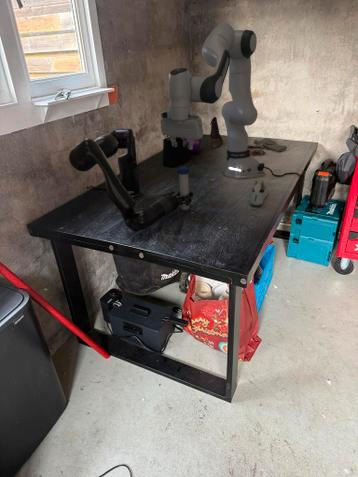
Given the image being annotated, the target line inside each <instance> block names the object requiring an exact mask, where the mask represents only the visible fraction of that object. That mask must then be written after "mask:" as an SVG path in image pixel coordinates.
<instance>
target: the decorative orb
mask: <svg viewBox="0 0 358 477" xmlns="http://www.w3.org/2000/svg"><path fill="white" fill-rule="evenodd" d="M186 141H187V145H189V144H190V142H189V139H186ZM201 145H202V138H201V139H199V140H195V142H194V144H193V149H191V150H189V149H188V154H194V153H196V152H197V151H198V150H199V149H200V147H201ZM187 148H188V147H187Z"/></svg>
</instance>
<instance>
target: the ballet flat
mask: <svg viewBox="0 0 358 477" xmlns="http://www.w3.org/2000/svg"><path fill="white" fill-rule="evenodd" d="M268 194H269V189H268V186H267V183H266V182H265V181H264V180H262V179H257V180H255V181H254V182H253V184H252V187H251V190H250V196H249V204H250V205H251V206H252V207H260V206H261V205H263V203H264V201H265V198H266V196H267V195H268Z"/></svg>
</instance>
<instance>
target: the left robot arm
mask: <svg viewBox="0 0 358 477" xmlns="http://www.w3.org/2000/svg"><path fill="white" fill-rule="evenodd" d="M119 150H127V152H125V153H123V154H121V155H118V157H117V164H118V171H119V177H118V175H117V174H116V172H115V170H114V168H113V166H112V165H111V163H110V161H109V160H108V159H110V158H111V157H113V156H115V155H116V154H117V153H118V151H119ZM68 161H69V163H70V165H71V166H72V168H74V169H75V170H76V171H79V172H83V173H85V172H88V171H90V170H91V169H93V168H94V167H95V166H96V165H98V166H99V168H100V170H101V172H102V174H103V177H104V182H105V187H96V186H93V185H89V186H90V187H88V186H86V189H89V188H92V189H95V190H105V191H106V192H107V195H108V197H109V199H110V201H111V202H112V203H113V205H114V206H115V207H116V208H117V209H118V211H119V212H120V214H121V217H122V219H123V221H124V223H125V225H126V227H127V228H128V229H129V230H130V231H132V232H135V233H138V232H141V231H143V230H146V229H148V228H150V227H151V226H152V225H154V224H155V223H156V222H158V221H160V220H161V219H163V218H165V217H167V216H168V215H170V214H172V213H173V212H175V211H177V209H178V208H179V207H180V206H181V205H182V204H186V206H188V205H189V206H190V204H191V202H192V198H193V197H194V192H193V191H189V193H188V194H186V195H181V196H180V191H176V192H175V191H171V192H167V193H164V194H163V196H162V197H161V198H159V199H157V200H156V201H155V202H154V203H152V204H150V205H148V206H147V207H146V208H144V209H142V210H140V211H138V212H136V211H135V209H134V208H135V206H136V200H135V199H134V198H136V197H138V196H141V193H142V192H141V188H140V187H141V186H140V177H139V169H138V160H137V149H136V135H135V132H134V130H133V129H132V128H115V129H113V130H111V131H110V132H109V133H106V134H102V135H100V136H98V137H96V138H94V139H91V138H85V139H83V140H82V141H81V142H79V143H78V144H77V145H76V146H75V147H74V148H72V149H71V150H70V152H69V154H68ZM185 197H186V199H185Z"/></svg>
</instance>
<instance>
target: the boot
mask: <svg viewBox="0 0 358 477" xmlns="http://www.w3.org/2000/svg"><path fill="white" fill-rule="evenodd" d="M209 125H210V134H209V137H210V143H211V148H212V149H217V148H218V147H219V146H220V145H222V144H223V142H224V140H223V138H222V136H221V134H220V129H219V124H218V118H217V116H213V117H212V118H211V121H210V123H209Z"/></svg>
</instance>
